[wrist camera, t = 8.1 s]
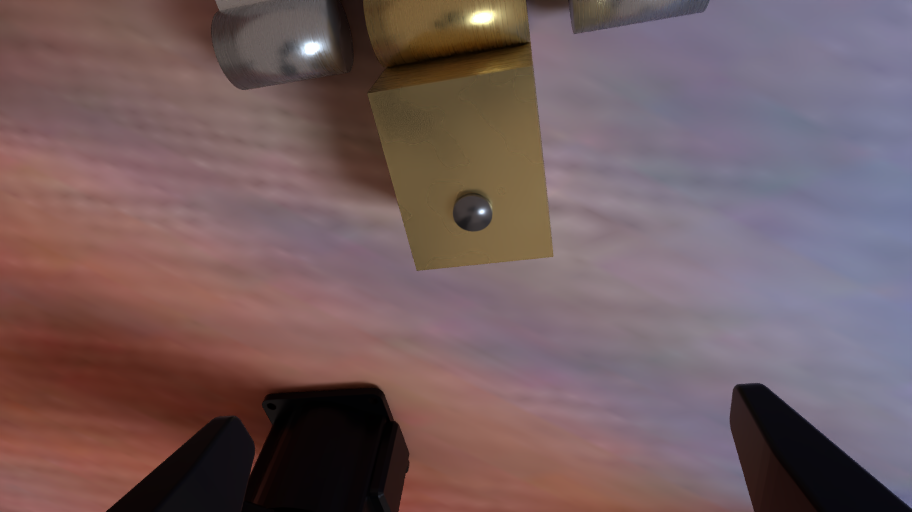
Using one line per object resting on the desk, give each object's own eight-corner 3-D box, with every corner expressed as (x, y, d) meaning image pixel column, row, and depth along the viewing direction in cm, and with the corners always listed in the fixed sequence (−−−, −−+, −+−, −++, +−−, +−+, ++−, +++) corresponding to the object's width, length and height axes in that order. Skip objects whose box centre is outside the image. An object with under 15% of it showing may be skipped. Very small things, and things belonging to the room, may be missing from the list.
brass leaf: (432, 211, 21) (415, 275, 18) (375, -23, 17) (338, 0, 13) (547, 197, 20) (554, 261, 17) (520, -53, 16) (520, -37, 12)
